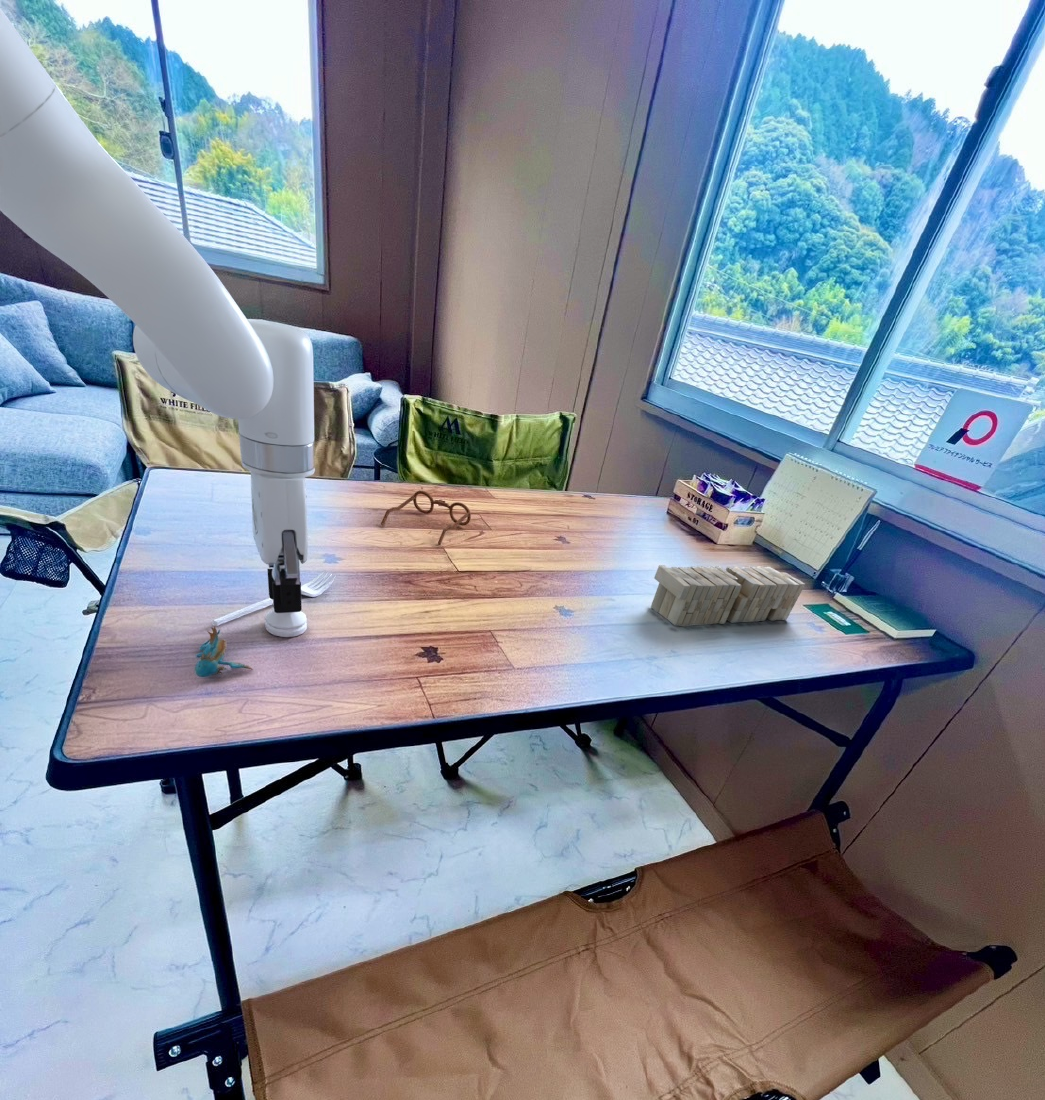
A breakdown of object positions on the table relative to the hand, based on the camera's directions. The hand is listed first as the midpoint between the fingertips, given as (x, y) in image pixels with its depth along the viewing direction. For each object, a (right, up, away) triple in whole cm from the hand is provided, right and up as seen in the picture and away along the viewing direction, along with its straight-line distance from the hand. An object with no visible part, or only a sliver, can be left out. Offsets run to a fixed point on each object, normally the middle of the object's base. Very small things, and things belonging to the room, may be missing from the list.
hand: (285, 603), depth 74 cm
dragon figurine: (-5, -8, -6) cm, 12 cm away
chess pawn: (-1, -3, +2) cm, 4 cm away
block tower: (+66, +3, +34) cm, 74 cm away
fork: (-4, +1, +7) cm, 8 cm away
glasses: (+11, +22, +42) cm, 48 cm away
